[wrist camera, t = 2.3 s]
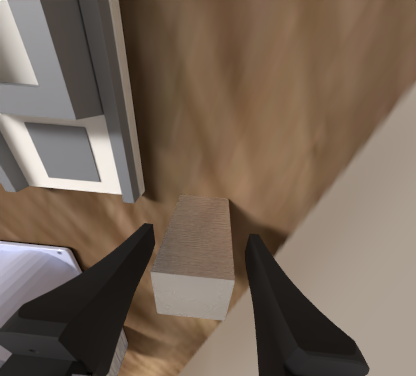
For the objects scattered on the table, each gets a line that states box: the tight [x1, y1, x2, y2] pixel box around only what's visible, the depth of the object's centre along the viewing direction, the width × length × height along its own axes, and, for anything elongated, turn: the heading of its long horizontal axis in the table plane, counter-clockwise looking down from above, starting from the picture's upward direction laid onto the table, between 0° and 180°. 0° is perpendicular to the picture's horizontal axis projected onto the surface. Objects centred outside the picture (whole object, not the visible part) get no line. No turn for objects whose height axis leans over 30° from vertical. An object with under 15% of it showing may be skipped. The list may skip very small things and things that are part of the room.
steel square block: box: [151, 194, 235, 320], centre depth 12 cm, size 4×4×7 cm
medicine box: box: [106, 328, 128, 376], centre depth 25 cm, size 8×4×9 cm, turn 173°
